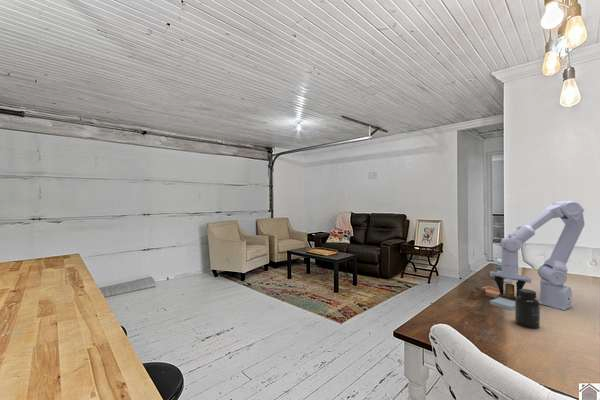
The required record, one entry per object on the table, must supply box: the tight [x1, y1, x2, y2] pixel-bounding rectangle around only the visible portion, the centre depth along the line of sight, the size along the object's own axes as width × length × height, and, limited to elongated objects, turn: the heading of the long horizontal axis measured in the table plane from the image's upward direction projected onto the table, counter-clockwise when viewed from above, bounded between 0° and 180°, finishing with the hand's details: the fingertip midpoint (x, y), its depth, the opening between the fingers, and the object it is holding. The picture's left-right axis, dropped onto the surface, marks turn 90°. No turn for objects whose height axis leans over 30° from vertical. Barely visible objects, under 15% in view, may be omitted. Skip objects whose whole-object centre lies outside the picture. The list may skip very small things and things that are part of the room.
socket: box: [497, 294, 516, 301], centre depth 124 cm, size 7×7×1 cm
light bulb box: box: [496, 257, 513, 284], centre depth 155 cm, size 11×7×11 cm, turn 143°
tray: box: [482, 285, 505, 299], centre depth 132 cm, size 9×9×2 cm
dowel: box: [504, 282, 515, 300], centre depth 124 cm, size 3×3×7 cm
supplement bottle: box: [514, 288, 541, 329], centre depth 101 cm, size 7×7×12 cm
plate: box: [489, 297, 515, 311], centre depth 119 cm, size 8×8×2 cm
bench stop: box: [470, 286, 486, 300], centre depth 128 cm, size 2×8×4 cm, turn 119°
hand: (509, 295), depth 124 cm, fingers open, 5 cm apart
